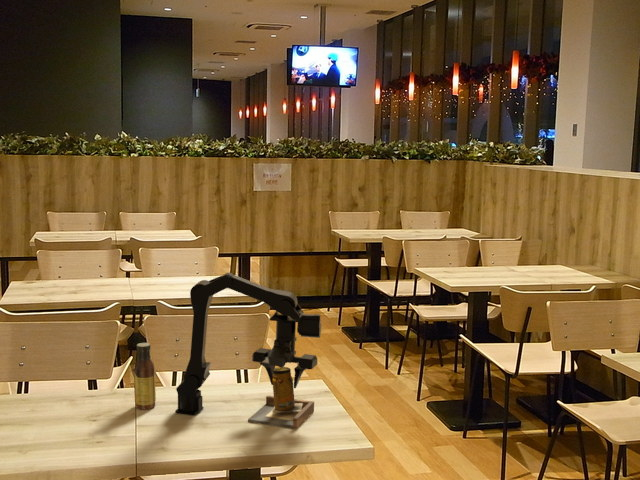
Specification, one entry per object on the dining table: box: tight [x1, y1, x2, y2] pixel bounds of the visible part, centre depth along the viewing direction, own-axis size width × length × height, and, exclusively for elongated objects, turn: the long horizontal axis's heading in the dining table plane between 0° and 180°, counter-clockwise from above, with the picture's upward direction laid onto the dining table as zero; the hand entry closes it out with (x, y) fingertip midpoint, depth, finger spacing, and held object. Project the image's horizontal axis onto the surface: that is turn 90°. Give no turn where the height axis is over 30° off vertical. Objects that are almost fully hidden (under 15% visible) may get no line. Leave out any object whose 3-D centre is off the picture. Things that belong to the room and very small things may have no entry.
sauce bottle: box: [133, 342, 157, 410], centre depth 240 cm, size 7×6×20 cm
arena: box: [247, 395, 315, 430], centre depth 236 cm, size 15×15×3 cm
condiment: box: [272, 366, 303, 412], centre depth 235 cm, size 7×8×12 cm
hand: (283, 386), depth 236 cm, fingers open, 7 cm apart
